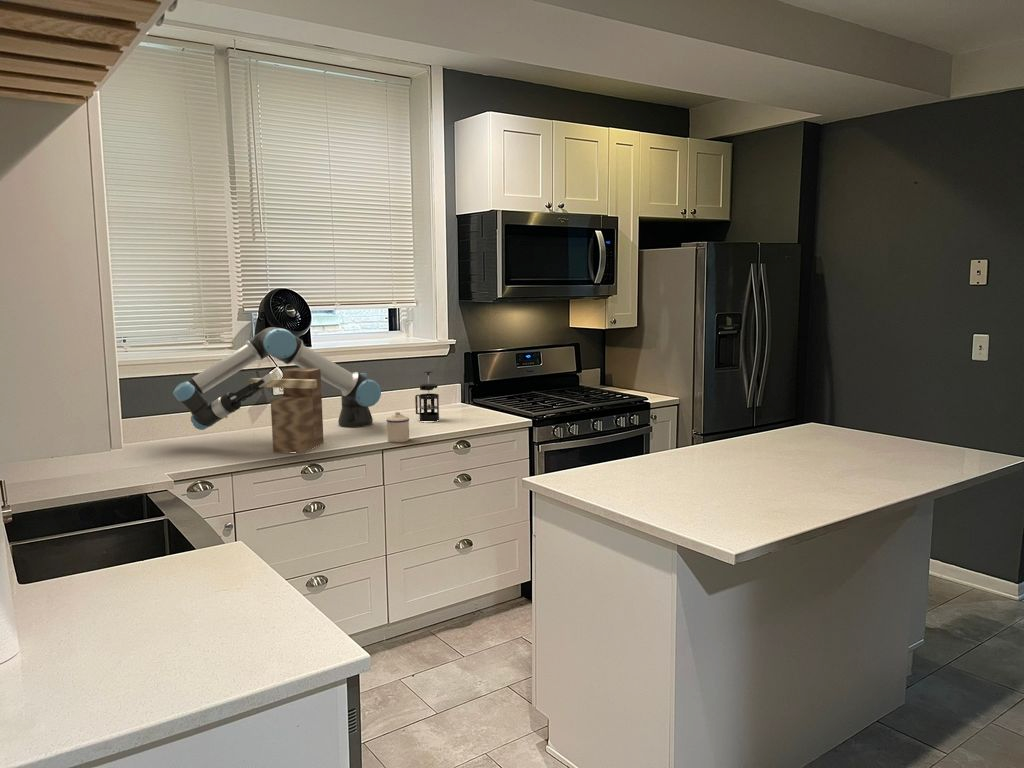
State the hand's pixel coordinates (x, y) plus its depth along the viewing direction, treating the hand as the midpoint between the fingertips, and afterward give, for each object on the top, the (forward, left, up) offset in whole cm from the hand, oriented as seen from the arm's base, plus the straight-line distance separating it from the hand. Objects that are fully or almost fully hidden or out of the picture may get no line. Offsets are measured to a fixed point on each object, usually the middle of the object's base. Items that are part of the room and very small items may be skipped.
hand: (273, 375), depth 285 cm
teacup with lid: (-42, +18, -29) cm, 55 cm away
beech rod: (-2, +3, -4) cm, 6 cm away
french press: (-76, -5, -29) cm, 82 cm away
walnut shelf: (-7, +3, -29) cm, 30 cm away
